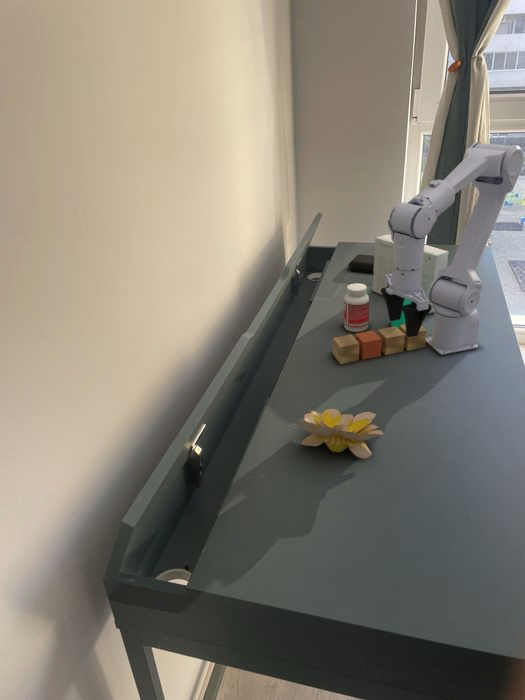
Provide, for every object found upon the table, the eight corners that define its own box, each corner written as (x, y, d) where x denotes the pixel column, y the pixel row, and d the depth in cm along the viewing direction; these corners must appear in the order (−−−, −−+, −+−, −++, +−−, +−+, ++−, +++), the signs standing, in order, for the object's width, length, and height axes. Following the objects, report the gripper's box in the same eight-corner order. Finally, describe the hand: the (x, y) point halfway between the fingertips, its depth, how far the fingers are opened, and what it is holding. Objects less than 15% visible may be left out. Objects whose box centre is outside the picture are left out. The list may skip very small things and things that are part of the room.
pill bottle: (373, 327, 132) (375, 287, 127) (355, 335, 130) (355, 294, 124) (356, 319, 137) (357, 279, 132) (338, 326, 134) (338, 286, 129)
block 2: (394, 342, 125) (395, 326, 123) (403, 351, 121) (404, 334, 119) (377, 346, 124) (377, 329, 122) (385, 355, 121) (386, 338, 118)
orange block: (372, 347, 124) (373, 330, 122) (380, 356, 120) (381, 338, 118) (354, 350, 123) (355, 333, 121) (362, 359, 120) (363, 342, 117)
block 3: (415, 338, 126) (417, 321, 124) (425, 347, 122) (426, 330, 120) (398, 342, 125) (399, 325, 123) (407, 350, 122) (408, 333, 119)
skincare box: (443, 308, 139) (450, 250, 131) (429, 315, 136) (435, 256, 128) (385, 285, 154) (387, 232, 146) (371, 291, 152) (373, 237, 144)
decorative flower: (395, 422, 96) (390, 384, 90) (380, 473, 89) (374, 436, 83) (317, 411, 103) (308, 375, 96) (298, 457, 96) (287, 421, 89)
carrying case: (401, 264, 168) (357, 259, 174) (402, 255, 166) (357, 251, 173) (392, 276, 160) (346, 271, 166) (393, 267, 158) (346, 262, 164)
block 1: (351, 351, 123) (351, 334, 121) (359, 360, 119) (359, 343, 117) (333, 354, 122) (333, 337, 120) (340, 364, 119) (340, 346, 116)
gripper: (372, 257, 108) (370, 316, 115) (406, 282, 96) (401, 347, 103) (404, 252, 110) (400, 310, 116) (441, 276, 97) (434, 340, 104)
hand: (403, 327), depth 110 cm, fingers open, 7 cm apart
